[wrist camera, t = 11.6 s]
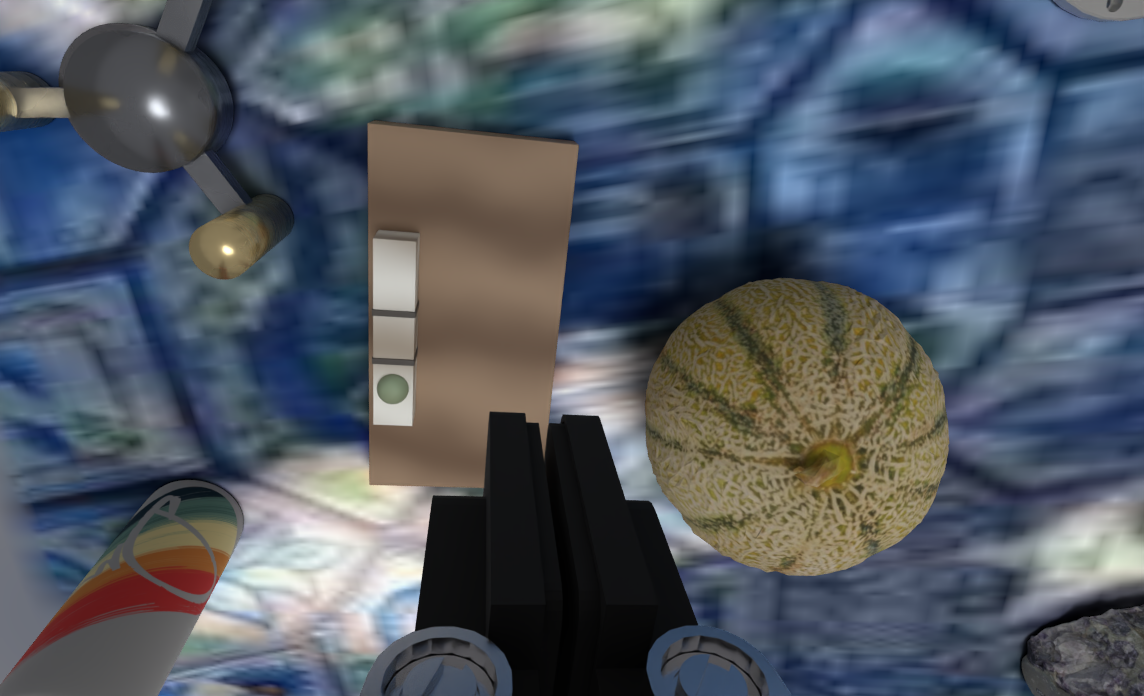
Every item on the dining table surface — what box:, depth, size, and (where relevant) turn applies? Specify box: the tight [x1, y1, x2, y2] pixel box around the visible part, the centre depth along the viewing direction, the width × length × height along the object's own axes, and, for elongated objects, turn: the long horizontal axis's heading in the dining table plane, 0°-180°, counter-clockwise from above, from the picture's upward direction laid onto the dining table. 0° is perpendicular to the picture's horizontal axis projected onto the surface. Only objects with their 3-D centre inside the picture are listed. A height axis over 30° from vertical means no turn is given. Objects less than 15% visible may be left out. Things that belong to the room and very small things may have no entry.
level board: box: [368, 120, 579, 488], centre depth 35 cm, size 20×10×5 cm, turn 174°
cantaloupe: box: [645, 278, 949, 576], centre depth 34 cm, size 15×15×15 cm
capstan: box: [0, 0, 294, 279], centre depth 28 cm, size 12×14×7 cm
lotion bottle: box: [0, 480, 243, 696], centre depth 31 cm, size 6×6×20 cm
